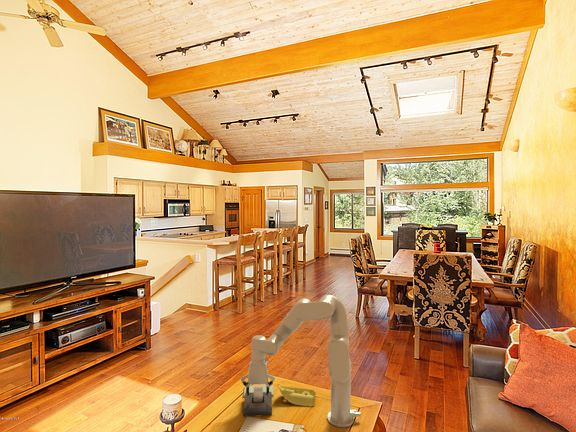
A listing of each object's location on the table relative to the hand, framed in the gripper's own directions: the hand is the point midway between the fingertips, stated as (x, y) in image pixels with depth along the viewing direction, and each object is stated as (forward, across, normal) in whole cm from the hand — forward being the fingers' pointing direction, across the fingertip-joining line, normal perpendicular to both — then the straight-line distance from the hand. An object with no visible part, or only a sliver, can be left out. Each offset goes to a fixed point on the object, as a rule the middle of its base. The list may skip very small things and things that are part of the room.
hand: (257, 394), depth 169 cm
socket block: (+7, 0, 0) cm, 7 cm away
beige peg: (+7, 0, 0) cm, 7 cm away
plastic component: (+7, -21, -7) cm, 23 cm away
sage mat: (+7, 0, -15) cm, 16 cm away
